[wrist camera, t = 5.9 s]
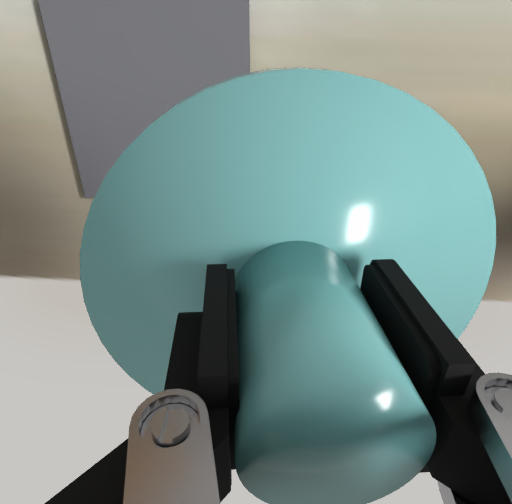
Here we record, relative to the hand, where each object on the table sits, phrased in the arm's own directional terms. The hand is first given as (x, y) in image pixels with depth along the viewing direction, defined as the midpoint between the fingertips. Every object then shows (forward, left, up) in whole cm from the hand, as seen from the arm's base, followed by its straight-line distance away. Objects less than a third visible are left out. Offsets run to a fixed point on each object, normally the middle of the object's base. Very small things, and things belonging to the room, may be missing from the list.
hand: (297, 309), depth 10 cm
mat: (+6, -3, -19) cm, 20 cm away
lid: (0, 0, -2) cm, 2 cm away
